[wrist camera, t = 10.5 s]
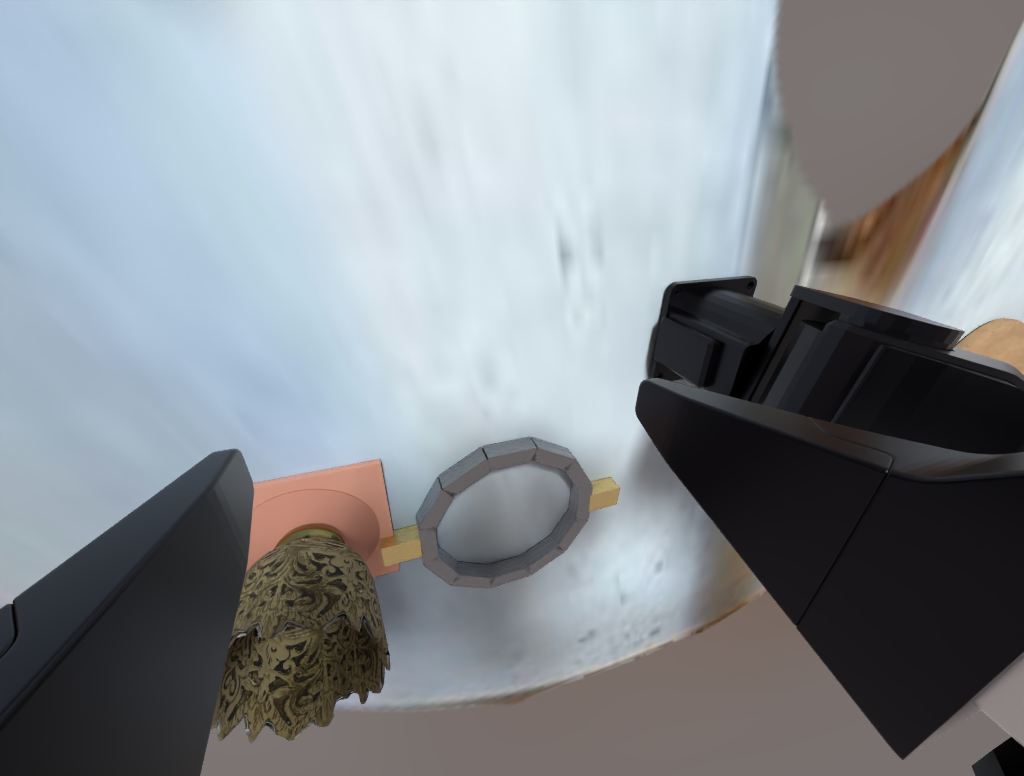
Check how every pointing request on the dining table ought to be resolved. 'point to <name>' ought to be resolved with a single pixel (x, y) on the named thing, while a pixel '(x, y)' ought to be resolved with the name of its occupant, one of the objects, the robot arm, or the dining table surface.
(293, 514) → the coaster
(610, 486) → the collar
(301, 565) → the cup
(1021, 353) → the candle holder
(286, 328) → the dining table surface
